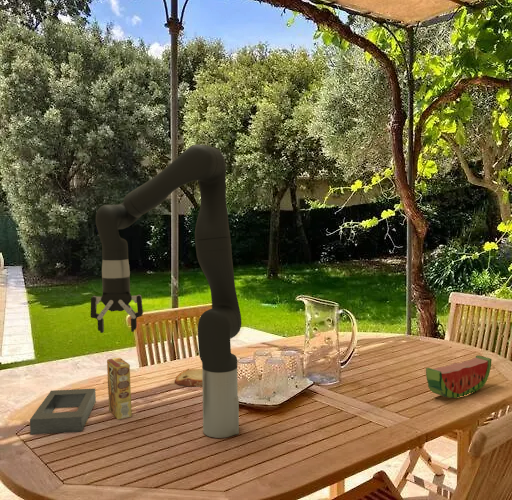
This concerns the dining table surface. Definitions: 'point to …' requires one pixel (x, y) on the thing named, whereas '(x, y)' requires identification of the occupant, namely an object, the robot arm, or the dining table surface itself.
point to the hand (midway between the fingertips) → (117, 331)
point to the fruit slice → (459, 377)
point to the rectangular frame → (63, 421)
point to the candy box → (119, 388)
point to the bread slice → (190, 378)
